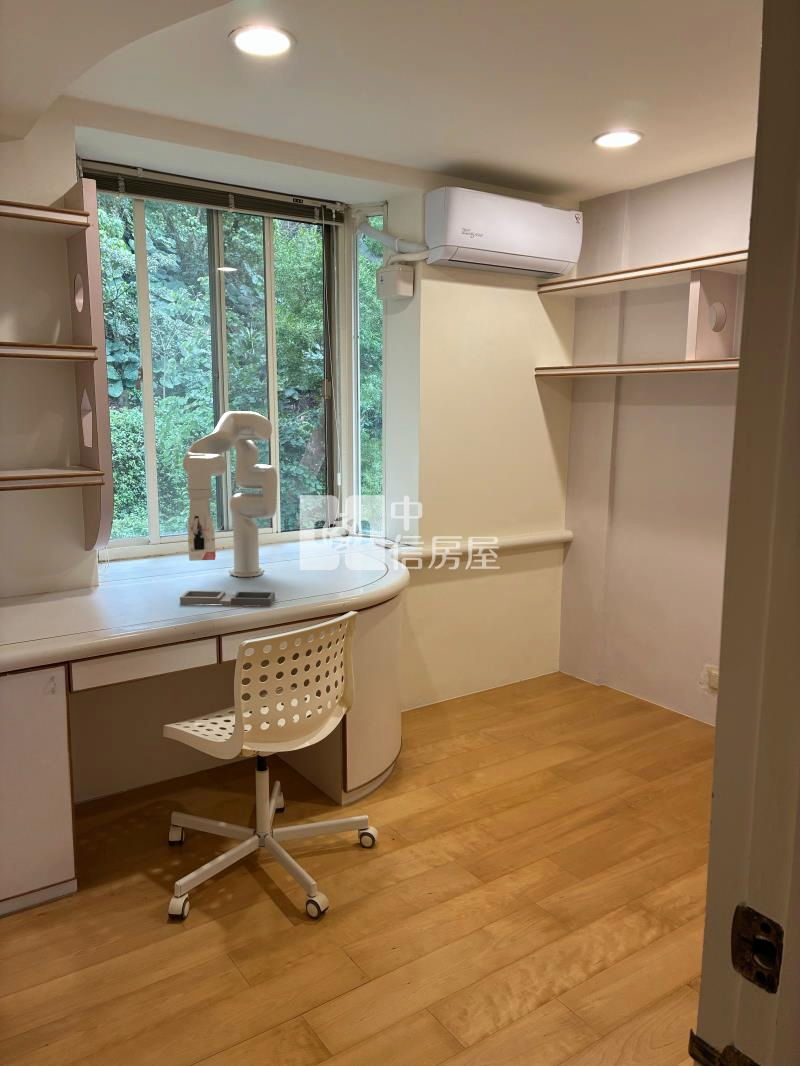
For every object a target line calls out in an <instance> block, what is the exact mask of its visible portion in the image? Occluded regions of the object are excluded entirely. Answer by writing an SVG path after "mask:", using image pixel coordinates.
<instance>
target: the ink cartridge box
mask: <svg viewBox="0 0 800 1066" xmlns="http://www.w3.org/2000/svg"><path fill="white" fill-rule="evenodd" d="M193 526H194V525H193ZM198 528H201V527H198ZM198 531H199V530H198ZM200 533H201V531H200ZM215 535H216V534H215V523H214V517H213V516H210V517H207V521H206V528H204V529H203V538H204V550H195V549H194V531H193V528H192V529H190V528H189V516H188V517H187V538H188V539H187V541H188V543H187V544H188V545H187V546H188V560H189V561H190V562H191V561H195V562H196V561H215V560H216V556H217V555H216V538H215V537H216V536H215Z"/></svg>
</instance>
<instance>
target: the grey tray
mask: <svg viewBox="0 0 800 1066" xmlns="http://www.w3.org/2000/svg"><path fill="white" fill-rule="evenodd" d="M274 599H275V600H276V592H275V591H236V592H235V593H233V594H232V593H225V595H224V596H223V597H222V598H221V599H220V600H219V604H222V605H221V606H227V605H260V606H259V607H271V606H272V605H273V603H274V602H273V601H275V600H274ZM272 602H273V603H272ZM271 604H272V605H271ZM270 605H271V606H270Z"/></svg>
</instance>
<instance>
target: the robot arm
mask: <svg viewBox="0 0 800 1066" xmlns="http://www.w3.org/2000/svg"><path fill="white" fill-rule="evenodd" d="M272 433H273V425H272V423H271V421H270V420H269V418H267V417H265V416H264V415H262V414H260V413H258V412H255V411H233V410H232V411H227V412H225V413H224V414H223V415H222V416H221V418H220V419H219V421H218V423H217V424H216V426H215V428H214V430H213V431H212V432H211V433H210V434H207V435H205V436H204V437H202V438H200V439H198V440H196V441H194V442H193V443H192V444H191V445H190V446H189V447H188V449H187V451H186V453H184V457H183V458H182V459H183V460H182V469H183V471H184V473H186V475H187V494H188V496H187V497H188V499H189V511H188V513H189V516H188V517H189V528H190V529H192V528H193V531H194V549H195V550H204V538H203V529H204V528H206V521H207V517H210V516H211V502H210V500H211V499H212V498H213V495H212V494H213V493H212V490H213V489H212V487H213V486H212V477H219V476H221V475H224V473H225V471H226V470H227V459H226V458H225V457H224V456H223V455H222V454H223V453H226V452H229V451H230V450H232V448H234V450H235V473H234V474H235V475H234V479H235V485H236V486H237V488H239V489H243V490H258V491H262V493H261V492H260V493H258V492H237V493H235V494H233V495H232V496H231V498H230V499H229V508H230V513H231V517H232V520H231V521H232V529H233V531H232V534H233V535H232V536H233V540H232V542H233V569H230V571H229V575H231V576H232V575H233V576H232V577H236V576H238V578H252V577H253V576H254V577H259V576H261V575H263V574H264V569H262V568H260V551H259V548H260V546H259V545H260V544H259V543H260V542H259V540H260V539H259V527H258V524H257V523H256V521H255V520H254V519H271V518H273V517H275V515H276V513H277V512H276V511H277V504H278V503H277V500H278V499H277V497H278V474H277V470H276V468H275V467H274V466H273V465H269V464H260V463H259V456H260V452H259V449H258V448H257V446H256V444H255V442H253V441H257V442H259V441H260V442H265V441H268V440H269V439H270V438H271V436H272ZM193 525H194V526H193ZM198 527H201V528H198ZM198 530H199V531H198ZM200 531H201V533H200Z"/></svg>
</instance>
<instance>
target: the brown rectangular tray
mask: <svg viewBox="0 0 800 1066" xmlns="http://www.w3.org/2000/svg"><path fill="white" fill-rule="evenodd" d="M225 594H226V591H224V590H186V591H185V592H184V593H183V594H182V595H181V596H179V605H180V604H219V600H220V599H221V598H222V597H223V596H224V595H225Z"/></svg>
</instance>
